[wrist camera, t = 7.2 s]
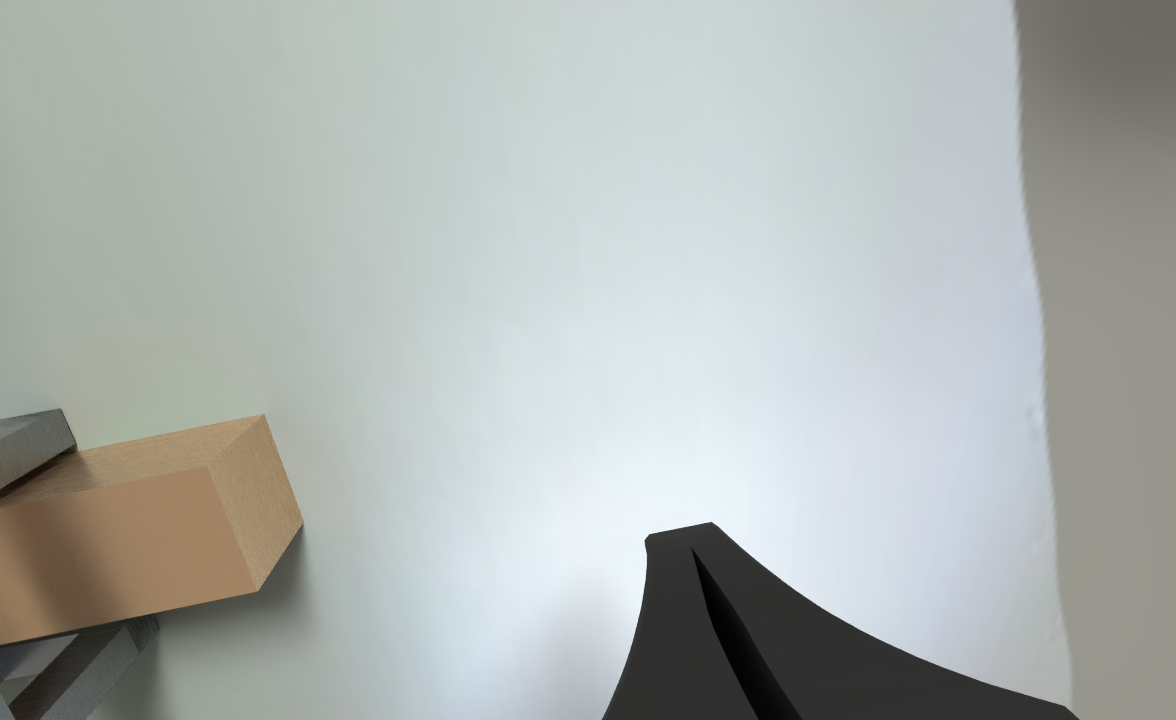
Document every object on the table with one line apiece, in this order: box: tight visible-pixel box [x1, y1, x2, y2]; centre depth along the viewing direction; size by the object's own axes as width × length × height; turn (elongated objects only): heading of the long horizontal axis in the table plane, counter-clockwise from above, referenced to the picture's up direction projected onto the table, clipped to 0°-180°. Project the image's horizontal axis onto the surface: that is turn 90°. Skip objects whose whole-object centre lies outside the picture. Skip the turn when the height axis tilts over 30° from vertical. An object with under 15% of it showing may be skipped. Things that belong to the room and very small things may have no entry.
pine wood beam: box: [0, 414, 303, 645], centre depth 19 cm, size 4×14×4 cm, turn 101°
